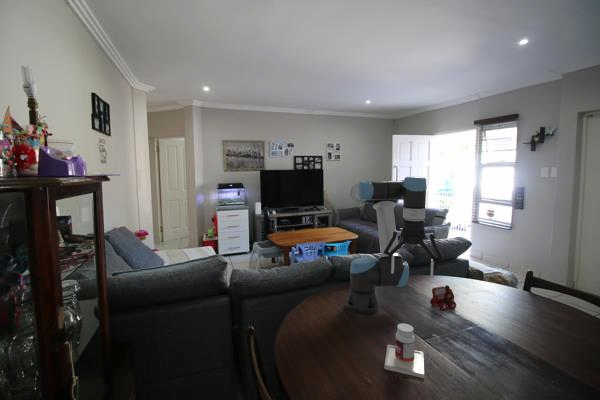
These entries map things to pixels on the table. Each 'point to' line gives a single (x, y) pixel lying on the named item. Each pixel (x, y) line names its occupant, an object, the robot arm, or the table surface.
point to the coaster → (410, 369)
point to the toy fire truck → (443, 298)
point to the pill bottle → (404, 344)
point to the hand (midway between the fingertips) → (411, 274)
